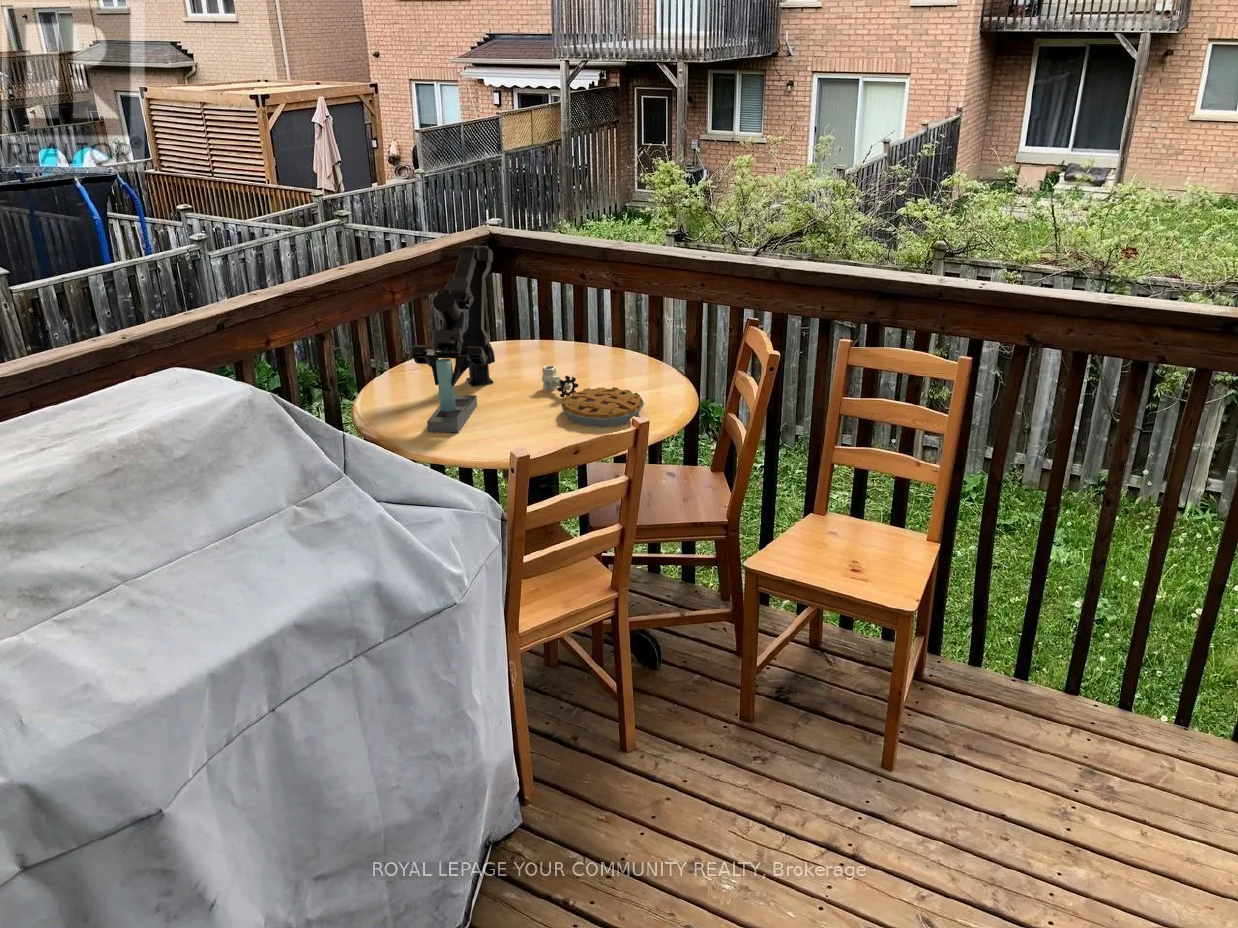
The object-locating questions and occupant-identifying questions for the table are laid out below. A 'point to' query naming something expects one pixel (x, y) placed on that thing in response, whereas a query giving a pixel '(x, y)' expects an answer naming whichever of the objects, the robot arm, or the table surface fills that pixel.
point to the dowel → (445, 385)
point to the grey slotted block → (453, 415)
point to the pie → (602, 407)
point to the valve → (557, 382)
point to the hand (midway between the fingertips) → (444, 385)
